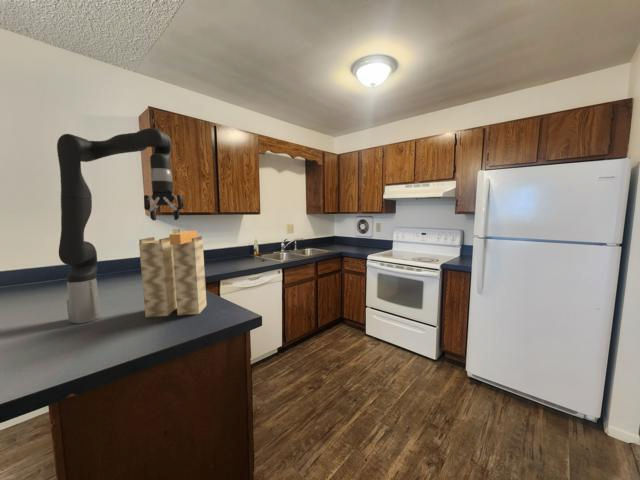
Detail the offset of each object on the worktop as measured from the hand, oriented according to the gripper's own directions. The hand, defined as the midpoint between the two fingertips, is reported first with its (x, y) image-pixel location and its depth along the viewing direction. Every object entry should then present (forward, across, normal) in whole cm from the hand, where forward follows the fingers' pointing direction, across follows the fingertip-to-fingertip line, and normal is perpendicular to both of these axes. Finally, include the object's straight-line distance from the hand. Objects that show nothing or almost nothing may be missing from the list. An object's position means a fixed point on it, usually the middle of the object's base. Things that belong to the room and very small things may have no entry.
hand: (165, 220), depth 110 cm
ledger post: (+42, +6, +5) cm, 42 cm away
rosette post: (+41, -7, +5) cm, 42 cm away
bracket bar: (+10, +6, +2) cm, 12 cm away
